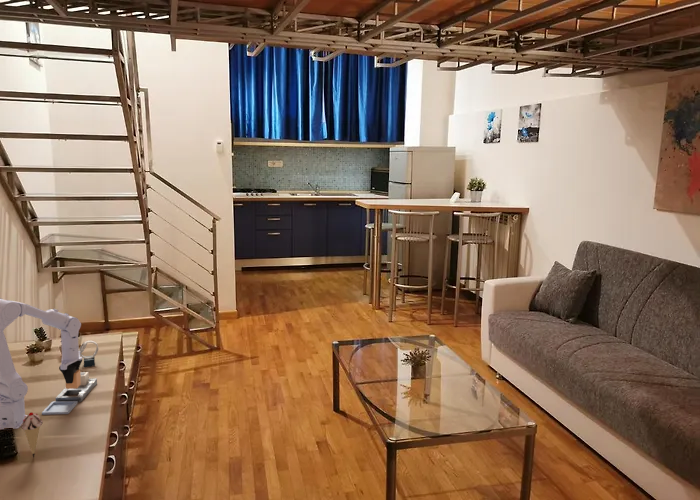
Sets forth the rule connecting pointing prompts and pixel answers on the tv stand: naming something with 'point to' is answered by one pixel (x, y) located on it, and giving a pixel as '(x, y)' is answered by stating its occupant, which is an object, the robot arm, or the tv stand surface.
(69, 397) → the grey rectangular holder
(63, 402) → the tray
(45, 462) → the tv stand surface
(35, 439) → the ice cream cone
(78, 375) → the plug
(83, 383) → the beige box
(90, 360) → the watch
